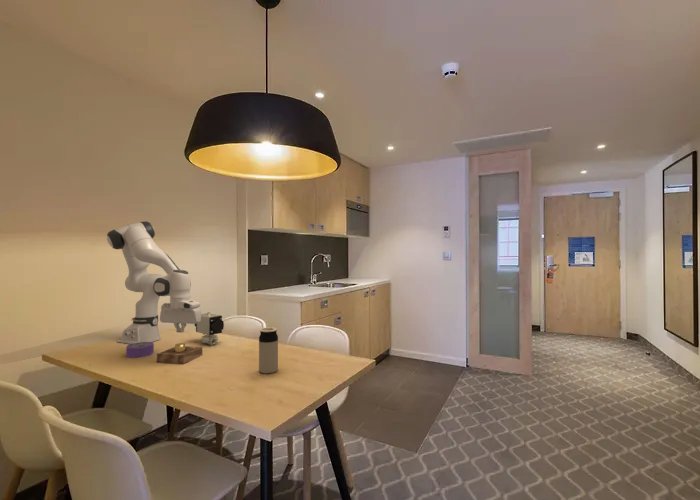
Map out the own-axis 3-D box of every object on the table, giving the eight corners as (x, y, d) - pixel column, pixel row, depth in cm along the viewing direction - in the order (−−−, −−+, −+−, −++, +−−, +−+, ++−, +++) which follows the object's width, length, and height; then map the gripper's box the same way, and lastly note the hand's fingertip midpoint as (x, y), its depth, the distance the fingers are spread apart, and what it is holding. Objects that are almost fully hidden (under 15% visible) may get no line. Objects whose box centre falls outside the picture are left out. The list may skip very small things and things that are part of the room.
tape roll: (149, 357, 166) (149, 347, 166) (122, 359, 163) (122, 348, 163) (156, 350, 177) (156, 341, 177) (131, 352, 174) (131, 342, 174)
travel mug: (266, 375, 140) (266, 332, 140) (255, 371, 145) (255, 329, 146) (281, 370, 146) (281, 328, 146) (270, 366, 151) (270, 326, 152)
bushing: (172, 359, 161) (172, 345, 161) (179, 357, 165) (179, 342, 165) (180, 360, 160) (180, 345, 160) (187, 357, 164) (187, 343, 164)
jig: (156, 362, 157) (156, 353, 157) (177, 353, 171) (177, 345, 171) (183, 364, 155) (183, 355, 155) (202, 355, 168) (202, 347, 168)
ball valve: (226, 344, 188) (226, 312, 188) (212, 348, 181) (212, 314, 181) (207, 339, 198) (207, 309, 198) (193, 343, 191) (193, 311, 191)
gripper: (156, 303, 162) (156, 332, 162) (194, 305, 158) (194, 334, 158) (166, 302, 168) (166, 329, 168) (203, 303, 164) (203, 331, 164)
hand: (180, 332), depth 163 cm, fingers closed
